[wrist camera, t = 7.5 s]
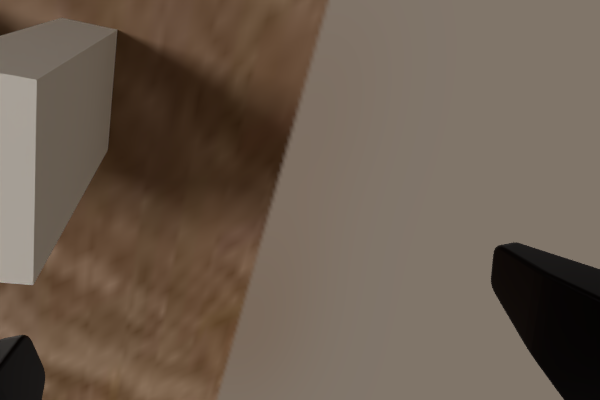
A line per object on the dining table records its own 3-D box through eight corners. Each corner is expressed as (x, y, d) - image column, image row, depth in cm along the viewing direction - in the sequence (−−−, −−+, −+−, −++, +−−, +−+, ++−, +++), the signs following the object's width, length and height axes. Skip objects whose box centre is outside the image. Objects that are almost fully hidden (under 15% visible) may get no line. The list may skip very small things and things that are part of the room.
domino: (117, 29, 18) (36, 79, 10) (107, 149, 20) (33, 285, 11) (61, 17, 18) (-79, 58, 9) (57, 142, 20) (-63, 277, 11)
